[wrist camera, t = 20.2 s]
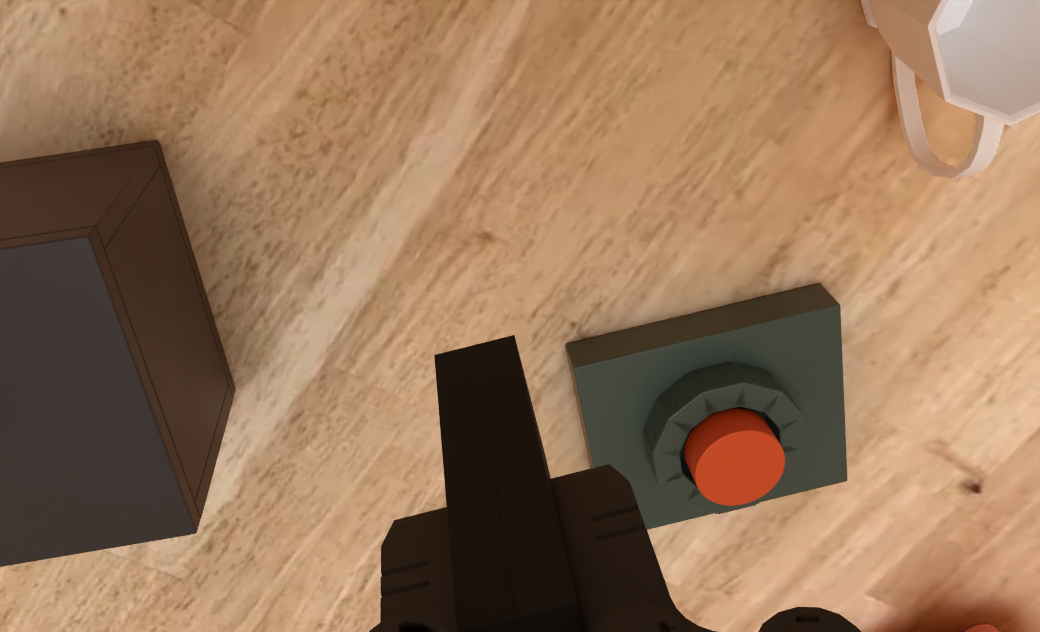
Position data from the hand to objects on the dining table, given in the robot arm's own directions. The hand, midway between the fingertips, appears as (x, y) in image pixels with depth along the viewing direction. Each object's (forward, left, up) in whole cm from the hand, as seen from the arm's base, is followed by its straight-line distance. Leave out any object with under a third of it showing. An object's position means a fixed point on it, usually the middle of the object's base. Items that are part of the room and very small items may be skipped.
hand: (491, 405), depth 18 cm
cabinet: (+18, +4, -22) cm, 29 cm away
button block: (-9, +17, -22) cm, 29 cm away
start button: (-9, +17, -18) cm, 27 cm away
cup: (-19, +1, -22) cm, 29 cm away
